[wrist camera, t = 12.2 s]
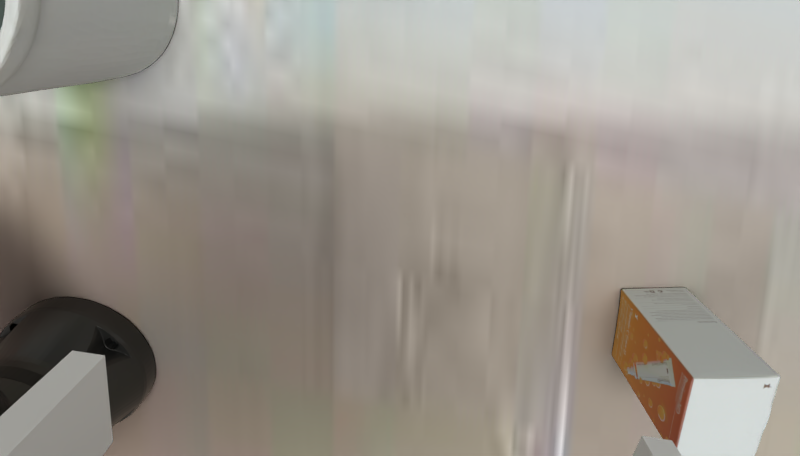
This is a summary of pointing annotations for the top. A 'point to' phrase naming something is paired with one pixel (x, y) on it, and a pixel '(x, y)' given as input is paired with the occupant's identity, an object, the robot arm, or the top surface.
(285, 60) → the top surface
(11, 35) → the utensil holder
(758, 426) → the small box
